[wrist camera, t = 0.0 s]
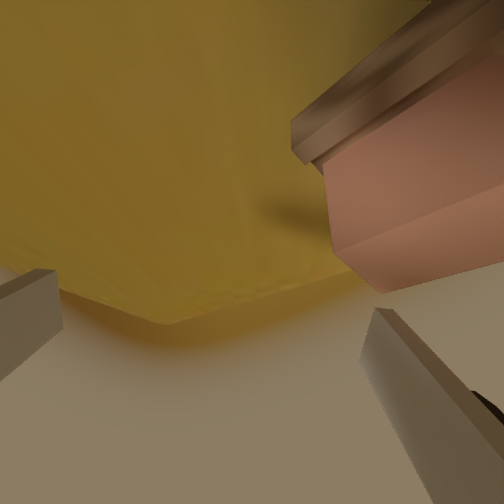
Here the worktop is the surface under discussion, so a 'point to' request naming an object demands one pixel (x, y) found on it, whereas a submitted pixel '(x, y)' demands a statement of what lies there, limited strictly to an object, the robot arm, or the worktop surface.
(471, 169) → the brick
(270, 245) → the worktop surface
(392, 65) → the box
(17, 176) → the worktop surface
